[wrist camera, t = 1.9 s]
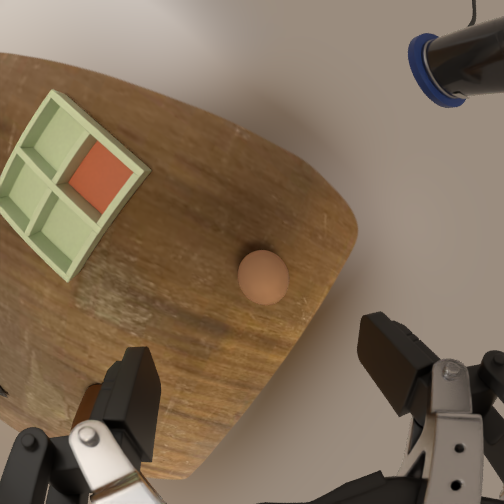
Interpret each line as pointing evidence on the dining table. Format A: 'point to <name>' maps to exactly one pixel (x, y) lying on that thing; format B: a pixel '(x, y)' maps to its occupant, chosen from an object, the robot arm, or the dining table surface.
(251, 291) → the egg
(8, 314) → the dining table surface
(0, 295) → the dining table surface
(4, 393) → the knife
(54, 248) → the egg tray
